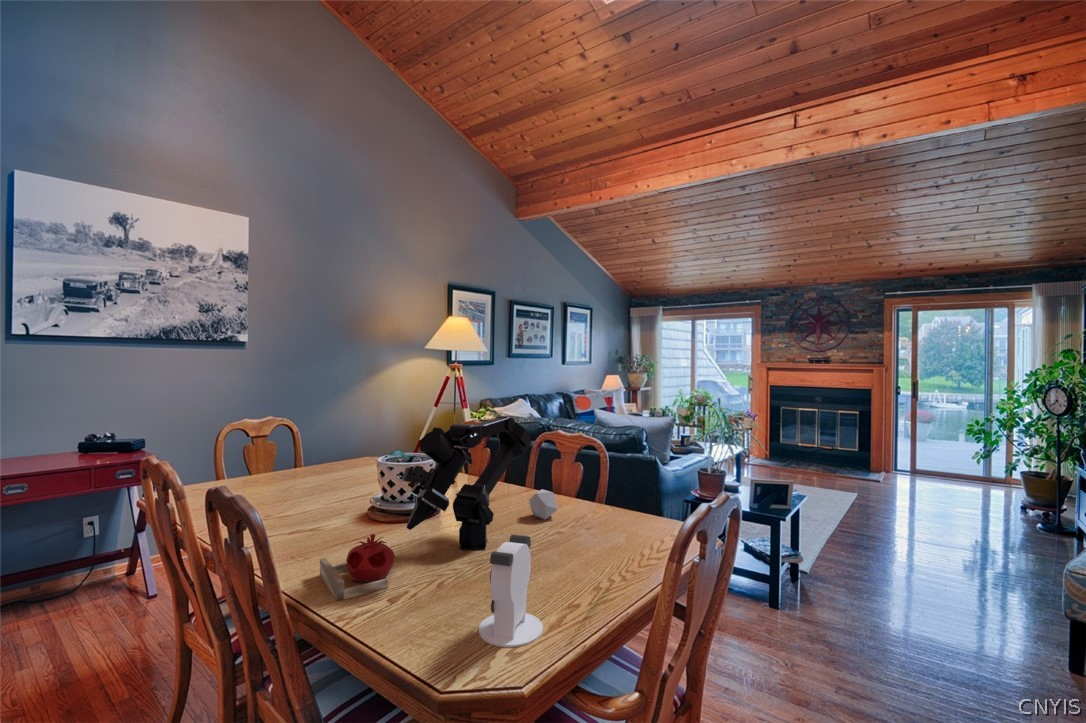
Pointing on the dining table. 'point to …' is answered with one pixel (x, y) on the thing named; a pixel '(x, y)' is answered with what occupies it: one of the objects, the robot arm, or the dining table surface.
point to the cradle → (337, 583)
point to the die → (543, 504)
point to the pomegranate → (370, 560)
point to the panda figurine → (510, 597)
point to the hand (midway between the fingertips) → (408, 528)
